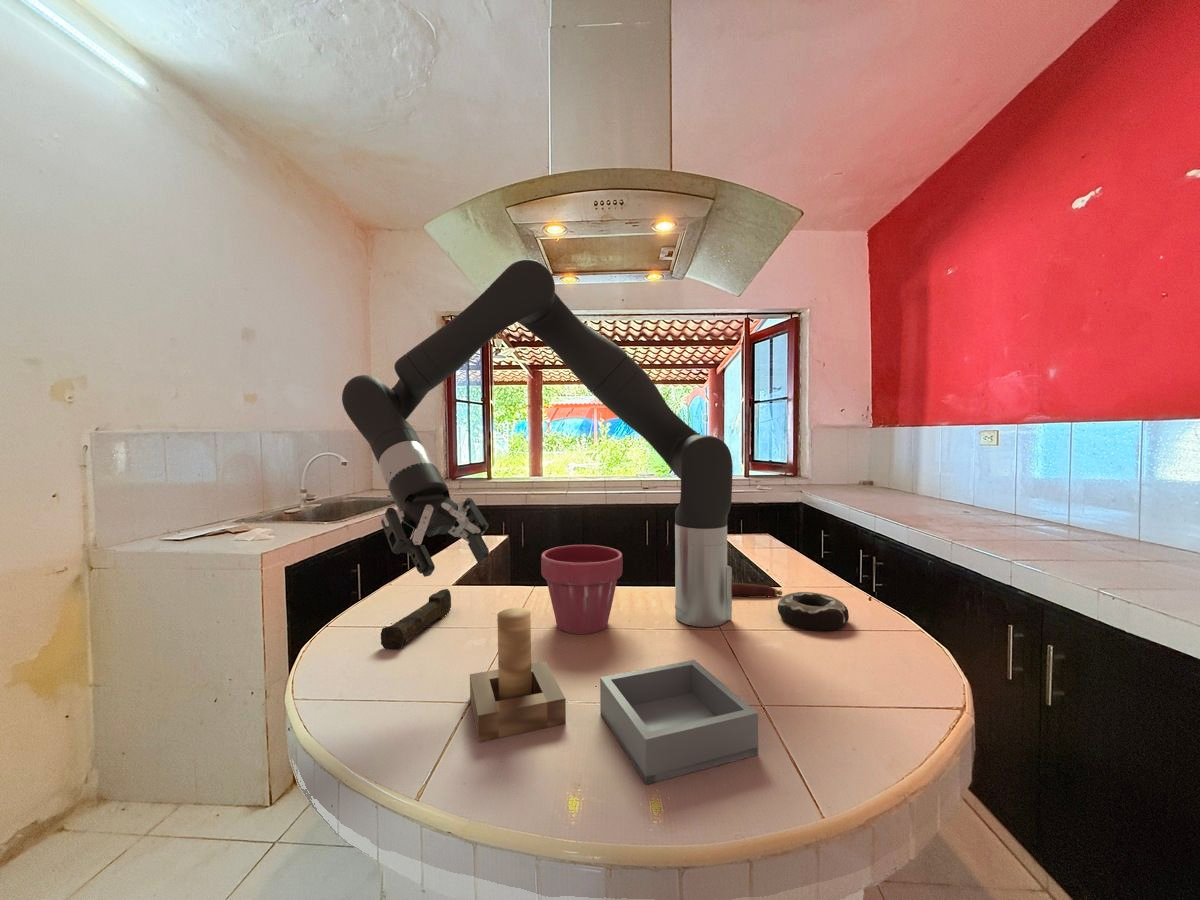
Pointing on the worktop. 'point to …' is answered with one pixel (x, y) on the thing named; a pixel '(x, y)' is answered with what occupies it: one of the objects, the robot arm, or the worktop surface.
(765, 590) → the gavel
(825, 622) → the donut
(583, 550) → the plant pot
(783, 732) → the worktop surface
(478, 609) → the worktop surface
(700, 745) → the tray
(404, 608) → the worktop surface
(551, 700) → the socket block
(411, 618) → the hand tool
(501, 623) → the dowel
